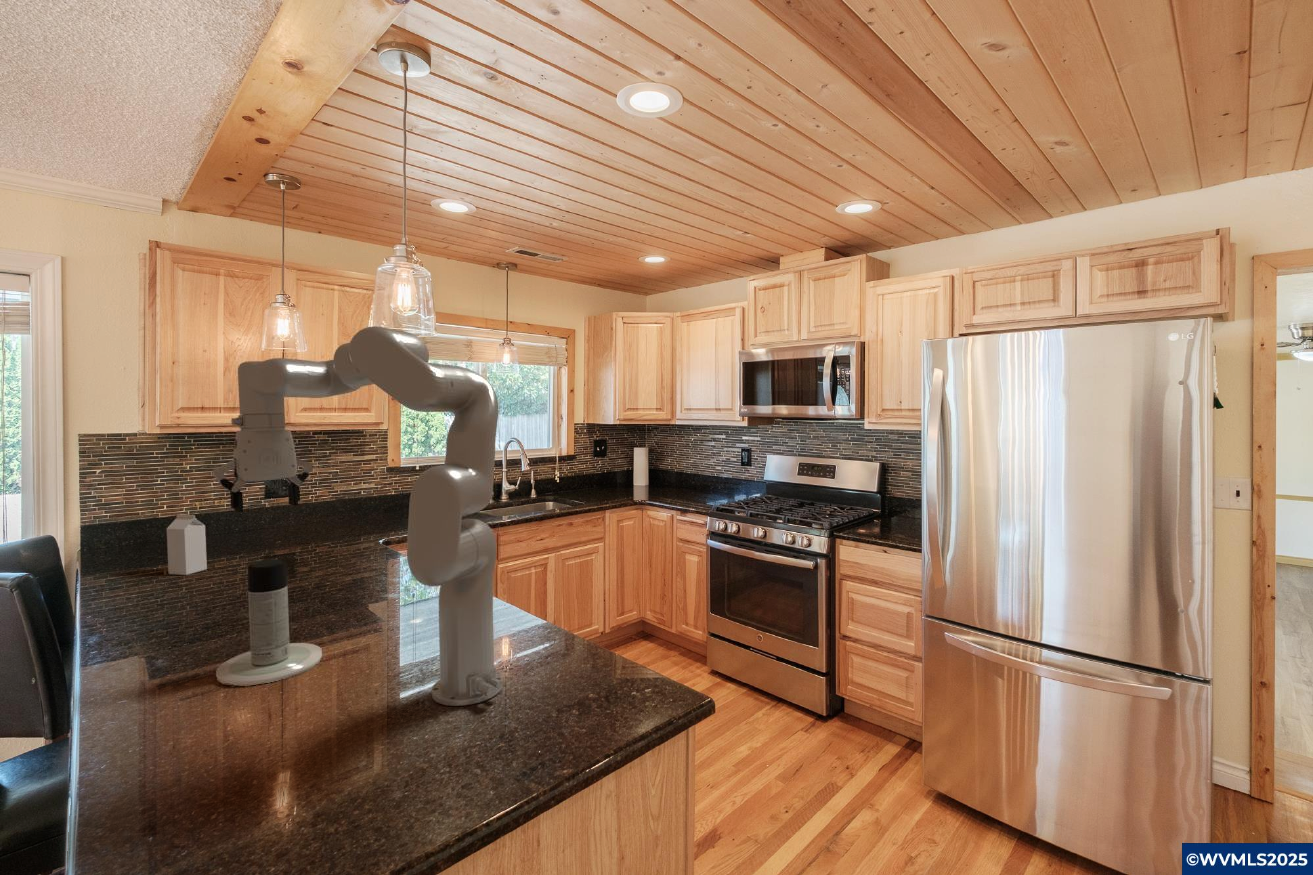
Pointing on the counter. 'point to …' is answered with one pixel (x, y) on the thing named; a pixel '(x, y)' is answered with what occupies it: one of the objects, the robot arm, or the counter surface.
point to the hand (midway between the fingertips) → (267, 508)
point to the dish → (248, 674)
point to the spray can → (268, 612)
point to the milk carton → (186, 545)
